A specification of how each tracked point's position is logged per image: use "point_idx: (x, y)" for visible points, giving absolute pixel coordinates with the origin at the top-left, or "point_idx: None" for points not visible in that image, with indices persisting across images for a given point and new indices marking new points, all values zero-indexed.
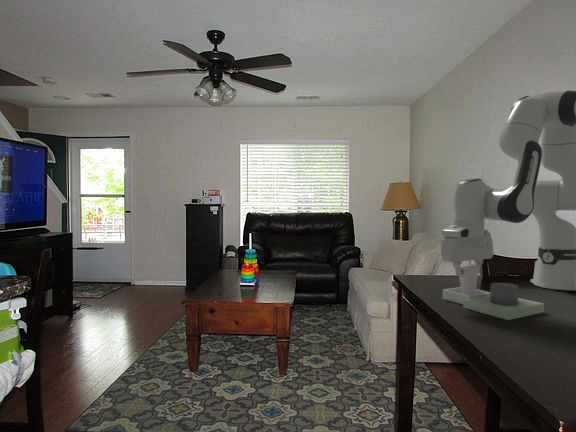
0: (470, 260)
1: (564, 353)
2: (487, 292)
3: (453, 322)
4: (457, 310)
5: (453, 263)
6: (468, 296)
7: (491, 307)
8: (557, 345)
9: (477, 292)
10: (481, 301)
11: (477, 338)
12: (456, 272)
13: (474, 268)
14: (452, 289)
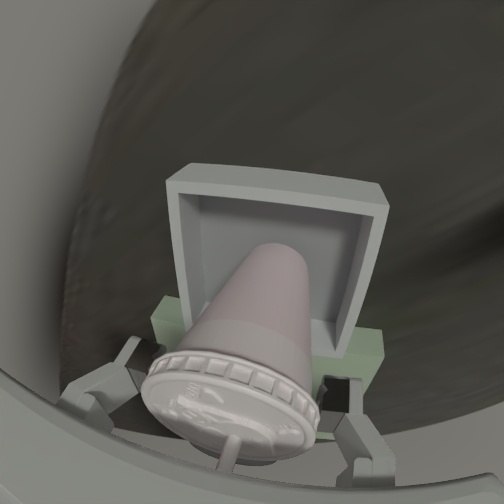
0: None
1: (142, 430)
2: (338, 343)
3: (69, 326)
4: (125, 297)
5: (68, 391)
6: (185, 324)
7: None
8: (156, 430)
9: (350, 291)
10: None
11: (72, 369)
12: (125, 351)
13: (208, 444)
14: (244, 197)
